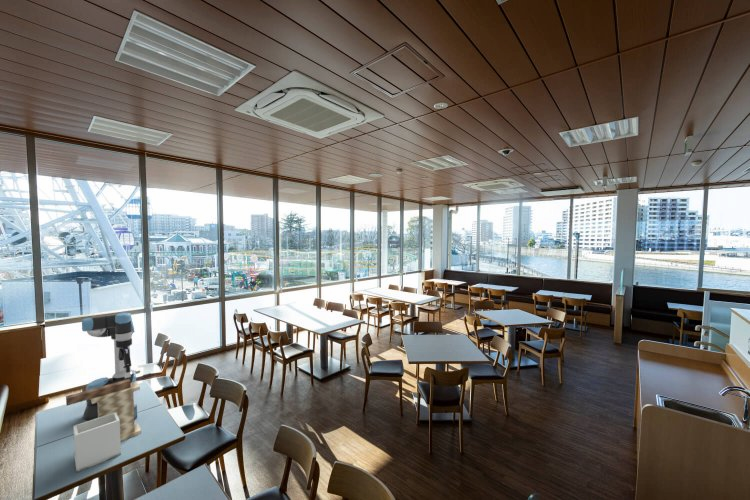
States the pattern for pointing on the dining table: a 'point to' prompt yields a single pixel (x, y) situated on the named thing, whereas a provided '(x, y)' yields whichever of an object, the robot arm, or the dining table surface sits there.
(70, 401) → the walnut block
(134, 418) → the flask
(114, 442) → the white open box
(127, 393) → the birch pedestal
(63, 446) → the dining table surface
